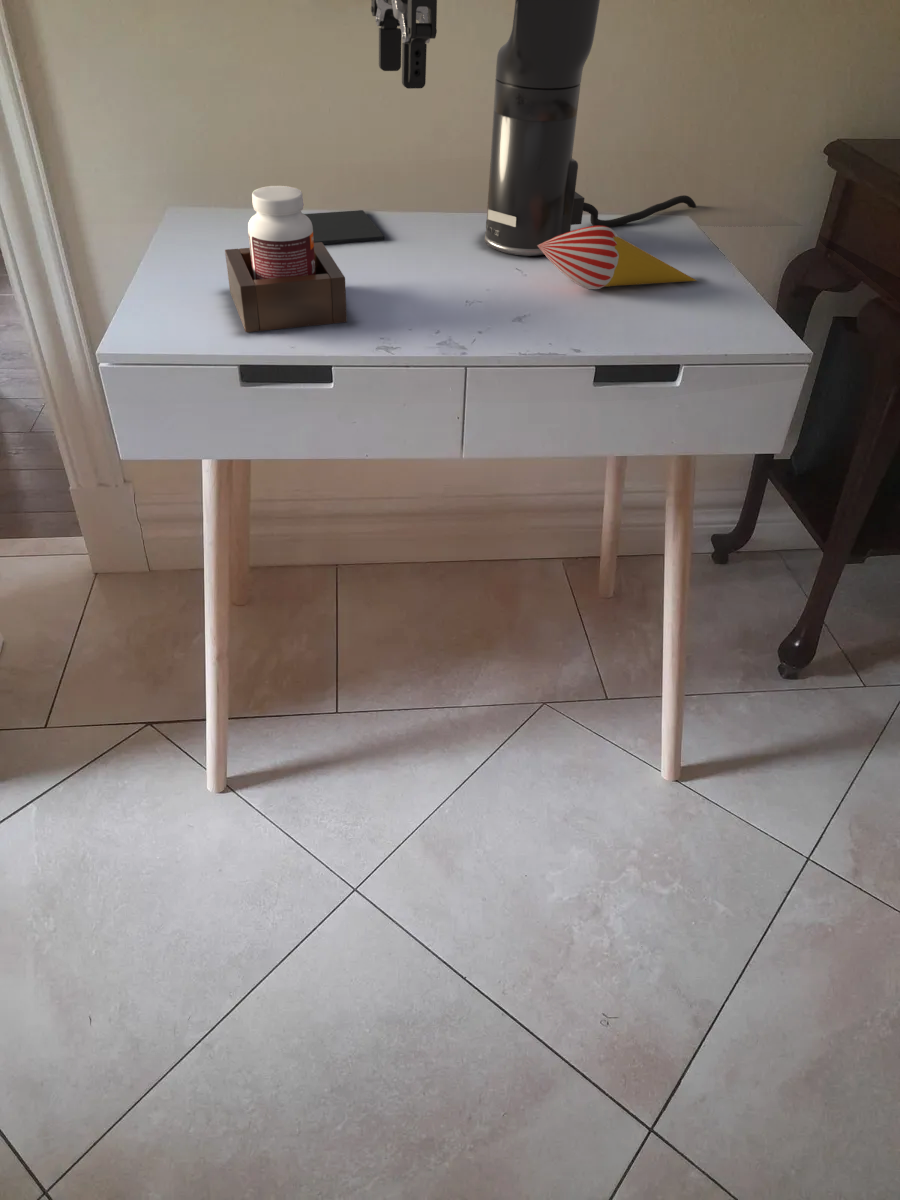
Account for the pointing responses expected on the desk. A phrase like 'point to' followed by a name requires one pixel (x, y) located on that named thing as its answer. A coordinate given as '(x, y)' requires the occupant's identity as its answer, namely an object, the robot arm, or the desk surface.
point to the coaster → (343, 227)
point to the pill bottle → (280, 234)
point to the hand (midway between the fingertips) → (401, 78)
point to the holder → (287, 294)
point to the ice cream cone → (606, 260)
